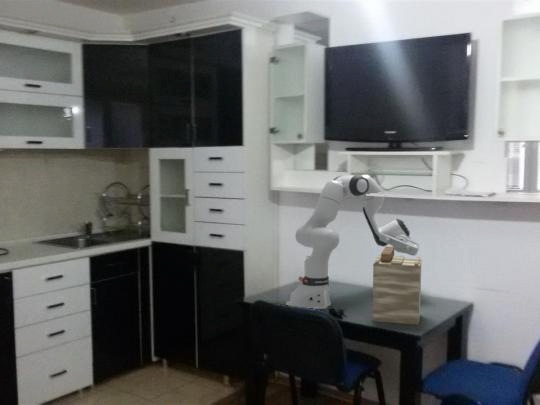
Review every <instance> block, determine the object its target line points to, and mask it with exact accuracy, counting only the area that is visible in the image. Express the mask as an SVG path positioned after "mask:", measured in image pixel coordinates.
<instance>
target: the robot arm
mask: <svg viewBox="0 0 540 405" xmlns="http://www.w3.org/2000/svg"><path fill="white" fill-rule="evenodd" d="M378 192H383V190H382V188H381V187H380V185H379V184H378V183H377V181H375V180H374V179H373V177H371V176H370V175H369V174H362V175H358V174H357V175H355V174H354V175H353V174H345V175H338V176H336V177H335V178H333V179H332V180H328V181H327V182H326V183H325V185H324V187H323V188H322V190H321V192H320V195H319V198H318V200H317V203H316V206H315V208H314V211H313V212H312V214H311V216H310V217H309V218H308V219H307V221H306V222H305V223H303V224H302V225H301V226H299V227H298V228H297V229H296V231H295V240H296V242H297V243H298V244H299V245H301V246H303V247H306V248H310V249H312V253H311V255H310V256H311V257H309V258H308V259H307V260H306V259H305V260H306V275H305V277H302V276H299V277H298V279H297V280H298V281H300V282H302V283H301V284H300V285H299V286H298V287H296V288H295V289H294V290H293V291H291V294H290V298H289V300H287V301H286V302H285V306H286V305H291V306H299V307H307V308H313V309H312V310H325V309H328V307H330V306H331V305H332V302H331V300H330V294H329V292H330V291H329V286H330V284H329V283H330V282H329V281H330V280H329V260H330V256H331V254H332V252H333V251H334V250H335V249H336V248H337V247H338V245H339V243H340V235H339V233H338V231H336V230H334V229H332V228H329V227H328V225H329V224H330V223H332V222H334V221H335V219H336V218H337V215H338V212H339V210H340V208H341V207H340V206H341V204H342V200H343V199H344V198H343V197H348V198H350V197H351V198H352V197H360V198H361V199H362V202H363V207H362V213H363V216H364V218H365V220H366V222H367V224H368V227H369V229H370V231H371V233H372V237H373V240H374V242H375V243H376V245H377V246H379V247H383V248H385V247H387V246H388V245H390V246H391V247H394V252H397V253H402V254H407V255H409V256H417V254H418V252H419V249H420V246H419V245H420V244H418V243H417V242H415V241H413V240H411V239H412V238H411V237H410V235H411V234H410V233H411V231H410V229H409V227H408V226H407V224H406V223H405V222H404V221H403V220H401V219H399V218H396V219H393V221H390V222H389V223H387V224H385V225H383V226H381V227H378V224H377V222H376V220H375V215H376V213H377V212H378V211H379V210H380V209H381V207H382V206H383V205H384V204H385V203H384V202H385V196H384V197H374V196H366V194H370V193H378ZM404 223H405V224H406V225H405V224H404ZM406 226H407V227H408V228H407V227H406ZM408 229H409V230H408Z"/></svg>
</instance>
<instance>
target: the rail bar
mask: <svg viewBox="0 0 540 405" xmlns="http://www.w3.org/2000/svg"><path fill="white" fill-rule="evenodd" d="M380 255H381V262H385V263H390V262H391V260H392V258H394V256H395V250H394V247H393V246H385V247H384V249H383V250H382V251H381V253H380Z"/></svg>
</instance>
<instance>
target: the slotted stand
mask: <svg viewBox="0 0 540 405" xmlns="http://www.w3.org/2000/svg"><path fill="white" fill-rule="evenodd" d="M372 265H373V266H372V269H373V270H372V316H371V317H372V322H380V323H381V322H383V323H395V324H404V325H405V324H406V325H407V324H408V325H414V326H415V325H416V326H417V325H418V326H419V324H420V318H421V301H422V300H421V297H422V296H421V294H422V293H421V291H422V290H421V289H422V288H421V287H422V259H421V258H420V257H419V256H417V257H415V258H405V256H402V255H398V256H397V255H394V257H393V258H392V260H391V262H390V263H385V262H381V254H380V255H378V256H377V257H376V259H375V260H374V262H373V263H372Z"/></svg>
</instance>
